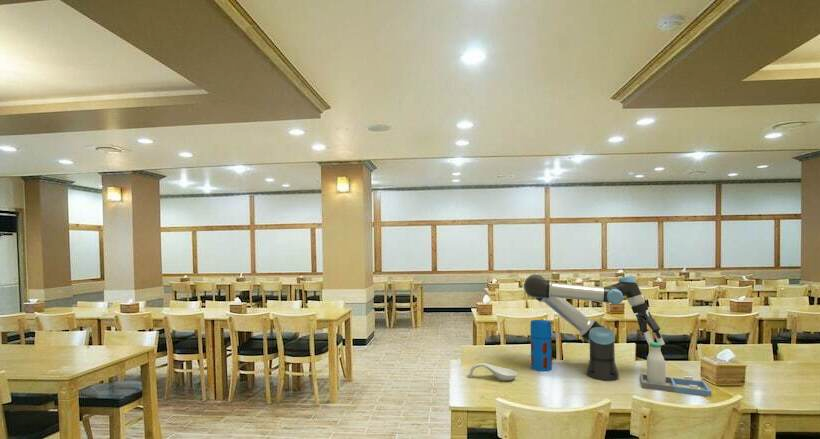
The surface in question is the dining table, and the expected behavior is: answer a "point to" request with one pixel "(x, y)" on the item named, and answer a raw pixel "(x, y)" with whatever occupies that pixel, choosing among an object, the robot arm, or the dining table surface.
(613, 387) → the dining table surface
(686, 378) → the bay frame
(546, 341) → the thermos
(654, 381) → the milk bottle
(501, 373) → the spoon rest
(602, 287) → the robot arm
